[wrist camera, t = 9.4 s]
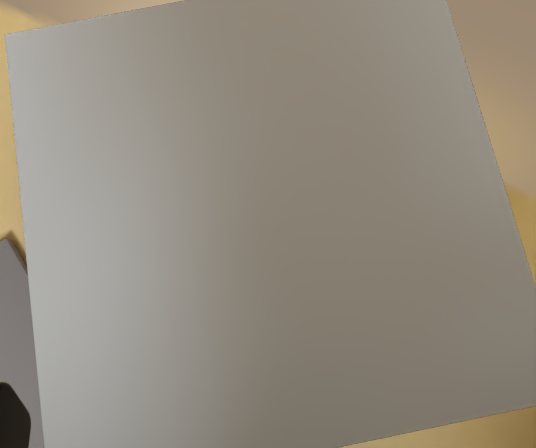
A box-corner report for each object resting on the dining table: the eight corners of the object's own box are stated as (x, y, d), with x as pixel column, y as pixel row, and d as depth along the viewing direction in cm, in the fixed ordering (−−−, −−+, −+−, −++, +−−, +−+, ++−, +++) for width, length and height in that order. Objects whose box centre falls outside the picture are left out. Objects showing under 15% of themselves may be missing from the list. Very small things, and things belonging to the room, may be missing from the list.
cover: (379, 351, 18) (570, 398, 6) (199, 388, 18) (50, 507, 6) (338, 178, 19) (431, -46, 8) (170, 211, 19) (4, 34, 8)
